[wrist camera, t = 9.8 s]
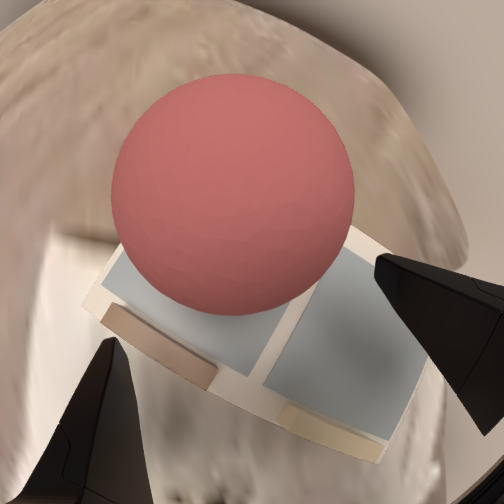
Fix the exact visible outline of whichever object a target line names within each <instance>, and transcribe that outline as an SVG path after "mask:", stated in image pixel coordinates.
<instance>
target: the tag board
mask: <svg viewBox="0 0 504 504" xmlns="http://www.w3.org/2000/svg"><path fill="white" fill-rule="evenodd" d="M383 253H390V254H393V253H392V252H390V251H389V250H387V249H386V248H384V247H383V246H382V245H380V244H379V243H377V242H376V241H374V240H373V239H371V238H370V237H368V236H367V235H365V234H364V233H362V232H361V231H359V230H358V229H356V228H355V227H353V226H352V225H350V228H349V232H348V235H347V238H346V240H345V242H344V244H343V247H342V249H341V251H340V253H339V255H338V256H337V257H336V259H335V260H334V262H333V263H332V265H331V266H330V267H329V269H328V270H327V271H326V272H325V274H324V275H323V276H322V277H321V278H320V280H318V281H317V282H316V283H315V284H314V285H313V286H311V287H310V288H309V289H308V290H307V291H306V292H304V293H303V294H301V295H300V296H298V297H296V298H294V299H292V300H291V301H289V302H287V303H285V304H283V305H281V306H279V307H277V308H274V309H271V310H268V311H263V312H259V313H254V314H249V315H241V316H228V315H214V314H209V313H204V312H200V311H197V310H194V309H192V308H189V307H187V306H184V305H181V304H179V303H177V302H175V301H174V300H172V299H170V298H169V297H167V296H165V295H164V294H162V293H160V292H159V291H158V290H157V289H155V288H154V287H153V286H152V285H151V284H150V283H149V282H148V281H147V280H146V279H145V278H144V277H143V276H142V275H141V274H140V273H139V272H138V270H137V269H136V267H135V266H134V265H133V263H132V262H131V260H130V259H129V258H128V256H127V254H126V252H125V250H124V248H123V246H122V244H121V243H120V245H119V246H118V248H117V249H116V251H115V252H114V254H113V255H112V257H111V258H110V260H109V261H108V263H107V264H106V266H105V267H104V269H103V271H102V272H101V274H100V275H99V277H98V278H97V280H96V282H95V283H94V285H93V286H92V288H91V290H90V291H89V293H88V295H87V296H86V298H85V300H84V301H83V303H82V305H81V307H83V308H84V309H85V310H86V311H88V312H89V313H90V314H92V315H93V316H94V317H96V318H97V319H98V320H100V323H102V324H103V325H104V326H106V327H107V328H108V329H110V330H111V331H113V332H114V333H115V334H117V335H118V336H120V337H121V338H122V339H124V340H125V341H127V342H128V343H130V344H131V345H133V346H134V347H135V348H137V349H138V350H140V351H141V352H143V353H144V354H146V355H147V356H149V357H151V358H152V359H154V360H155V361H157V362H158V363H160V364H162V365H163V366H165V367H166V368H168V369H170V370H171V371H173V372H174V373H176V374H178V375H179V376H181V377H183V378H184V379H186V380H188V381H190V382H191V383H193V384H195V385H196V386H198V387H200V388H202V389H204V390H205V391H207V390H208V391H210V392H211V393H213V394H215V395H217V396H219V397H221V398H222V399H224V400H226V401H228V402H230V403H232V404H234V405H236V406H238V407H240V408H242V409H244V410H246V411H248V412H250V413H252V414H254V415H256V416H258V417H260V418H262V419H264V420H266V421H269V422H271V423H273V424H275V425H277V426H280V427H282V428H284V429H286V430H287V431H288V432H290V433H293V434H295V435H297V436H300V437H302V438H305V439H307V440H309V441H312V442H314V443H317V444H319V445H322V446H325V447H327V448H330V449H333V450H335V451H338V452H341V453H344V454H347V455H349V456H352V457H355V458H358V459H361V460H364V461H367V462H371V463H374V464H375V463H377V464H379V462H380V461H381V459H382V457H383V455H384V454H385V452H386V450H387V449H388V447H389V445H390V443H391V441H392V440H393V438H394V436H395V434H396V432H397V430H398V428H399V426H400V424H401V423H402V421H403V419H404V417H405V415H406V413H407V410H408V408H409V406H410V404H411V402H412V400H413V398H414V396H415V393H416V391H417V389H418V387H419V384H420V382H421V380H422V377H423V375H424V372H425V370H426V368H427V365H428V363H429V360H430V357H429V355H428V354H427V353H426V351H425V350H424V349H423V347H422V346H421V345H420V343H419V342H418V341H417V339H416V338H415V337H414V335H413V334H412V333H411V331H410V330H409V329H408V328H407V326H406V325H405V324H404V322H403V321H402V320H401V319H400V317H399V316H398V315H397V313H396V312H395V310H394V309H393V307H392V306H391V304H390V303H389V301H388V300H387V298H386V297H385V295H384V293H383V292H382V290H381V289H380V287H379V286H378V284H377V283H376V281H375V279H374V269H375V261H376V257H377V256H378V255H381V254H383Z"/></svg>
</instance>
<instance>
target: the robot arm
mask: <svg viewBox="0 0 504 504" xmlns="http://www.w3.org/2000/svg"><path fill="white" fill-rule="evenodd" d="M374 279H375V281H376V283H377V284H378V286H379V287H380V289H381V290H382V292H383V293H384V295H385V297H386V298H387V300H388V301H389V303H390V304H391V306H392V307H393V309H394V310H395V312H396V313H397V315H398V316H399V317H400V319H401V320H402V321H403V322H404V324H405V325H406V326H407V328H408V329H409V330H410V331H411V333H412V334H413V335H414V337H415V338H416V339H417V341H418V342H419V343H420V345H421V346H422V347H423V349H424V350H425V351H426V353H427V354H428V355H429V357H430V358H431V360H432V361H433V362H434V364H435V365H436V366H437V368H438V369H439V371H440V372H441V373H442V375H443V376H444V378H445V379H446V381H447V382H448V383H449V385H450V386H451V388H452V389H453V391H454V392H455V393H456V394H457V397H458V398H459V400H460V401H461V403H462V404H463V406H464V407H465V409H466V410H467V412H468V413H469V414H470V416H471V418H472V419H473V421H474V422H475V424H476V425H477V427H478V429H479V430H480V432H481V433H482V435H483V436H485V435H487V434H488V433H489V432H490V431H491V430H492V429H493V428H494V427H495V426H496V425H497V424H498V422H500V420H501V419H502V418H503V417H504V286H501V285H496V284H493V283H489V282H486V281H482V280H479V279H476V278H472V277H471V278H470V277H469V276H466V275H463V274H459V273H456V272H453V271H449V270H446V269H442V268H439V267H436V266H432V265H429V264H425V263H422V262H418V261H415V260H411V259H408V258H404V257H401V256H397V255H394V254H390V253H383V254H381V255H378V256H377V257H376V261H375V269H374ZM6 504H154V503H153V498H152V494H151V489H150V484H149V479H148V474H147V468H146V462H145V456H144V450H143V444H142V437H141V430H140V422H139V414H138V406H137V400H136V395H135V391H134V386H133V382H132V377H131V372H130V367H129V361H128V358H127V355H126V353H125V351H124V350H123V348H122V346H121V344H120V342H119V341H118V339H117V338H116V337H111V338H107V339H104V340H103V341H102V343H101V344H100V346H99V348H98V350H97V351H96V353H95V355H94V357H93V359H92V360H91V362H90V364H89V366H88V368H87V369H86V371H85V373H84V375H83V377H82V379H81V380H80V382H79V384H78V386H77V388H76V390H75V392H74V394H73V396H72V398H71V399H70V401H69V403H68V405H67V407H66V409H65V411H64V413H63V415H62V417H61V419H60V421H59V424H58V425H57V427H56V429H55V432H54V434H53V436H52V438H51V440H50V441H49V443H48V446H47V447H46V449H45V451H44V453H43V455H42V456H41V458H40V460H39V462H38V463H37V465H36V467H35V469H34V470H33V472H32V474H31V476H30V477H29V479H28V481H27V483H26V485H25V486H24V488H23V490H22V491H21V492H20V494H19V495H18V496H17V497H16V498H14V499H13V500H12V501H10V502H8V503H6ZM451 504H504V455H503V456H502V457H501V458H500V459H499V460H498V461H497V462H496V463H495V464H494V465H493V466H492V467H491V468H490V469H489V470H488V471H487V472H486V473H485V474H484V475H483V476H482V477H481V478H480V479H479V480H478V481H477V482H476V483H475V484H473V485H472V486H471V487H470V488H469V489H468V490H467V491H465V492H464V493H463V494H462V495H461V496H460V497H458V498H457V499H456V500H455V501H454V502H452V503H451Z"/></svg>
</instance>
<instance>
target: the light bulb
mask: <svg viewBox="0 0 504 504" xmlns="http://www.w3.org/2000/svg"><path fill="white" fill-rule="evenodd" d="M354 192H355V189H354V179H353V171H352V168H351V164H350V161H349V158H348V155H347V152H346V149H345V146H344V144H343V142H342V140H341V138H340V137H339V135H338V133H337V131H336V130H335V128H334V126H333V125H332V124H331V122H330V121H329V120H328V119H327V118H326V116H325V115H324V114H323V113H322V112H321V110H320V109H319V108H318V107H316V106H315V105H314V104H313V103H312V102H311V101H310V100H308V99H307V98H305V97H304V96H302V95H301V94H299V93H298V92H296V91H295V90H293V89H291V88H289V87H287V86H285V85H283V84H280V83H277V82H275V81H272V80H269V79H266V78H262V77H258V76H252V75H243V74H224V75H215V76H209V77H206V78H202V79H199V80H195V81H192V82H190V83H187V84H185V85H182V86H180V87H177V88H176V89H174V90H172V91H170V92H169V93H167V94H166V95H164V96H163V97H162V98H160V99H159V100H158V101H156V102H155V103H154V104H153V105H152V106H151V107H150V108H149V109H148V110H147V111H146V112H145V113H144V114H143V115H142V116H141V117H140V118H139V119H138V120H137V122H136V123H135V125H134V127H133V128H132V130H131V131H130V133H129V134H128V136H127V137H126V139H125V141H124V143H123V145H122V147H121V150H120V153H119V155H118V158H117V161H116V164H115V168H114V174H113V180H112V191H111V202H112V213H113V218H114V224H115V227H116V230H117V233H118V236H119V239H120V242H121V244H122V246H123V248H124V250H125V252H126V254H127V256H128V258H129V259H130V260H131V262H132V263H133V265H134V266H135V267H136V269H137V270H138V272H139V273H140V274H141V275H142V276H143V277H144V278H145V279H146V280H147V281H148V282H149V283H150V284H151V285H152V286H153V287H154V288H155V289H157V290H158V291H159V292H160V293H162V294H164V295H165V296H167V297H169V298H170V299H172V300H174V301H175V302H177V303H179V304H181V305H184V306H187V307H189V308H192V309H194V310H197V311H200V312H204V313H209V314H214V315H228V316H241V315H249V314H254V313H259V312H263V311H268V310H271V309H274V308H277V307H279V306H281V305H283V304H285V303H287V302H289V301H291V300H292V299H294V298H296V297H298V296H300V295H301V294H303V293H304V292H306V291H307V290H308V289H309V288H310V287H311V286H313V285H314V284H315V283H316V282H317V281H318V280H320V278H321V277H322V276H323V275H324V274H325V272H326V271H327V270H328V269H329V267H330V266H331V265H332V263H333V262H334V260H335V259H336V257H337V256H338V255H339V253H340V251H341V249H342V247H343V244H344V242H345V240H346V238H347V235H348V232H349V228H350V225H351V221H352V215H353V208H354Z"/></svg>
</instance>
